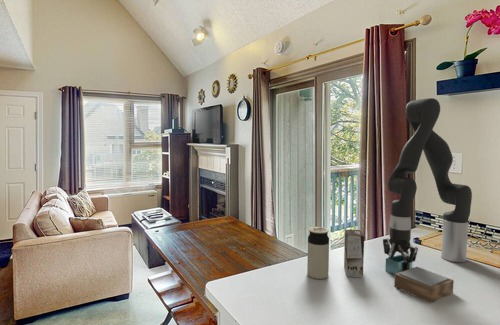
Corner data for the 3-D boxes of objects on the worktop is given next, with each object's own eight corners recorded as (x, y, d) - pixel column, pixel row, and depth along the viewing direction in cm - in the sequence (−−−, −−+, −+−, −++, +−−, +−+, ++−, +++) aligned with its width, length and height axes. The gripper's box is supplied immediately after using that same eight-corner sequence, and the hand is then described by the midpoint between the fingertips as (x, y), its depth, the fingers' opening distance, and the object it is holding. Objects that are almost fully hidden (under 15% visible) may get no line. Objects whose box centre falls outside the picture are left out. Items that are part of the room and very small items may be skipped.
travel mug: (332, 274, 118) (333, 229, 117) (321, 281, 113) (322, 233, 111) (314, 269, 124) (315, 225, 123) (303, 275, 118) (304, 229, 117)
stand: (416, 278, 116) (416, 265, 115) (452, 292, 104) (453, 278, 104) (394, 286, 109) (394, 272, 109) (431, 302, 98) (431, 287, 98)
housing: (399, 266, 127) (399, 254, 127) (412, 271, 122) (412, 258, 122) (385, 270, 122) (385, 258, 122) (398, 275, 118) (398, 263, 117)
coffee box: (363, 278, 116) (364, 236, 115) (346, 276, 117) (346, 235, 116) (360, 268, 125) (361, 229, 124) (343, 267, 126) (344, 228, 125)
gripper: (423, 230, 117) (421, 273, 118) (390, 221, 129) (388, 260, 130) (411, 232, 113) (410, 277, 114) (378, 223, 126) (377, 264, 127)
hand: (398, 268), depth 122 cm, fingers closed on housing, 5 cm apart
